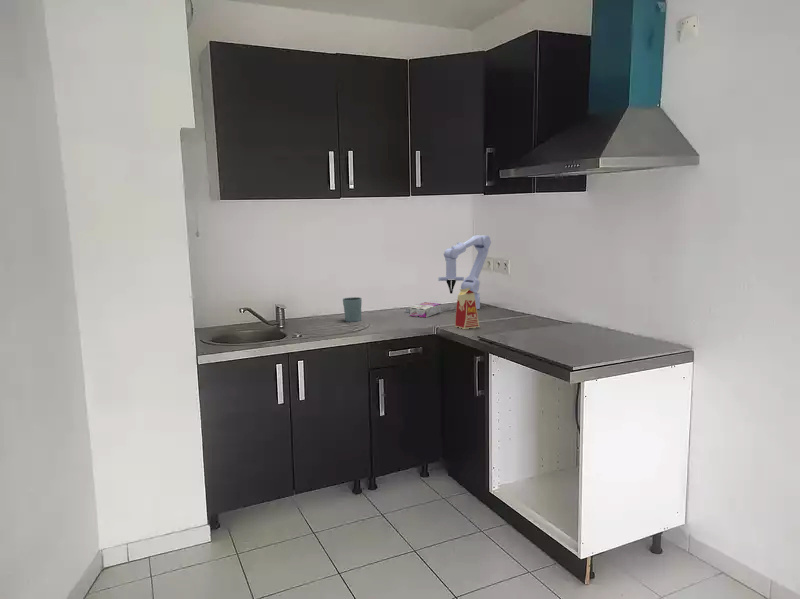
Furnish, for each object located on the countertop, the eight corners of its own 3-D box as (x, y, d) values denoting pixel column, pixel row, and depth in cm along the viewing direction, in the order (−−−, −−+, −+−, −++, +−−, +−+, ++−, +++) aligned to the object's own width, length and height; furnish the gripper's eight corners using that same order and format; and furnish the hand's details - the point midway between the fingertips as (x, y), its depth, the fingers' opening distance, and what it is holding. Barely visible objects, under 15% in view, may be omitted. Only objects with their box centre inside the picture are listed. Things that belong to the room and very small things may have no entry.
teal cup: (357, 322, 309) (356, 300, 307) (340, 321, 312) (339, 299, 310) (365, 319, 318) (364, 297, 316) (348, 318, 321) (347, 296, 320)
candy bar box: (425, 310, 337) (409, 316, 324) (424, 302, 336) (408, 307, 323) (441, 312, 331) (426, 318, 318) (441, 303, 330) (425, 308, 317)
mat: (431, 309, 345) (431, 308, 344) (431, 313, 332) (431, 312, 332) (406, 309, 346) (406, 308, 346) (404, 313, 333) (404, 312, 333)
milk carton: (479, 327, 288) (479, 287, 285) (464, 329, 283) (464, 288, 280) (468, 324, 296) (468, 285, 293) (453, 326, 291) (453, 286, 288)
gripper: (438, 270, 330) (438, 294, 332) (464, 270, 329) (464, 294, 331) (438, 269, 337) (438, 292, 339) (463, 269, 336) (463, 292, 338)
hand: (451, 293), depth 335 cm, fingers closed
